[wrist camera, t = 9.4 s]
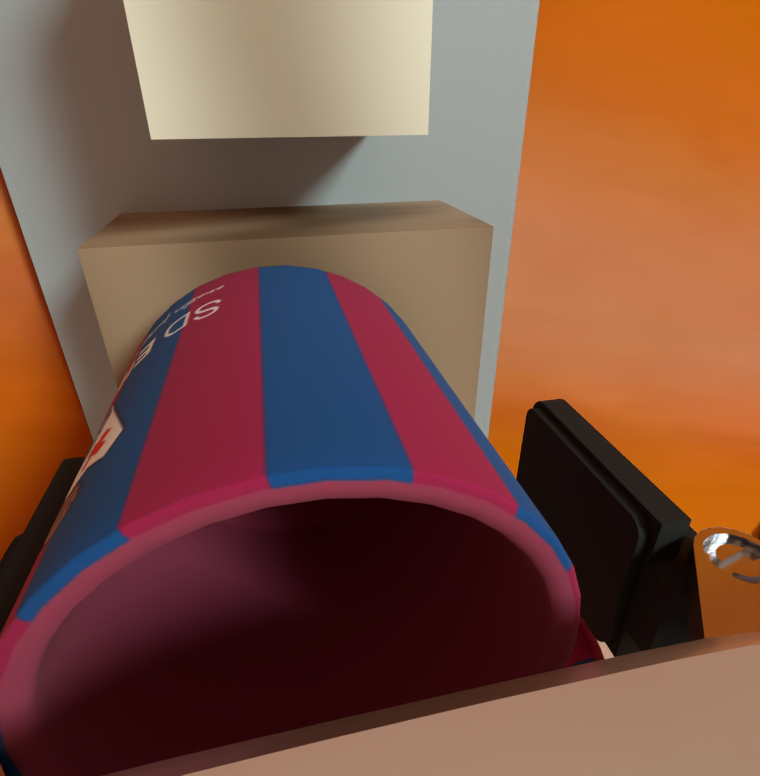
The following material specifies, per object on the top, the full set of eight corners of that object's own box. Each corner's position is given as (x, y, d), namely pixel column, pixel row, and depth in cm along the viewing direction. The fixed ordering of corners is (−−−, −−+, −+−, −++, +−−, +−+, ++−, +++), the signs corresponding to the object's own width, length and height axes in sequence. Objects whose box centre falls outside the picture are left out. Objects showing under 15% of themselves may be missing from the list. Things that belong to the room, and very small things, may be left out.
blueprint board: (546, -152, 12) (559, -164, 12) (479, 448, 21) (485, 456, 21) (-116, -217, 10) (-136, -235, 9) (120, 498, 19) (116, 509, 18)
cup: (246, 191, 9) (235, 324, 4) (556, 436, 14) (772, 669, 8) (68, 443, 11) (-141, 820, 5) (398, 589, 16) (485, 875, 10)
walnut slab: (439, 200, 15) (493, 226, 12) (427, 444, 20) (464, 515, 16) (120, 213, 14) (76, 248, 10) (185, 477, 18) (169, 564, 15)
